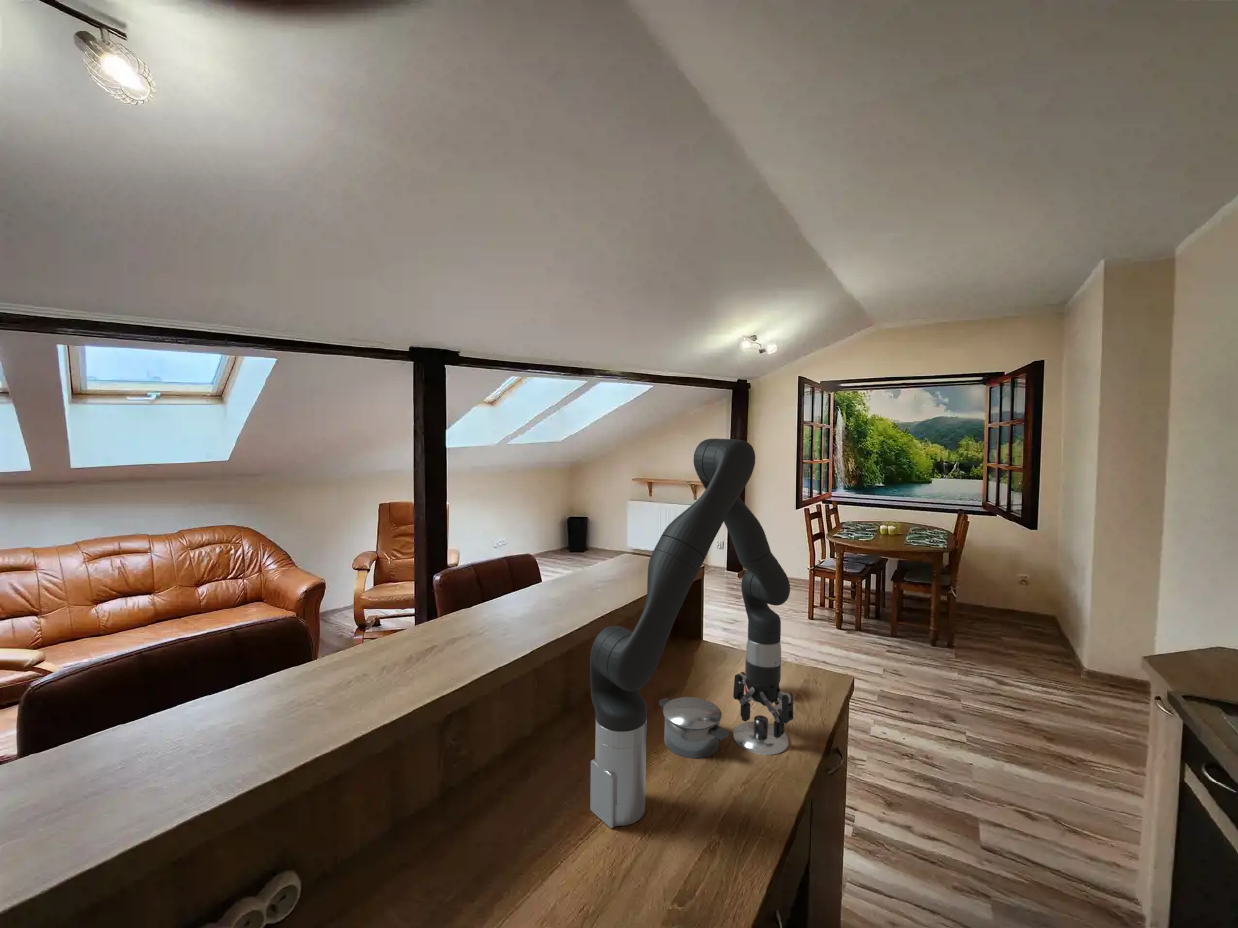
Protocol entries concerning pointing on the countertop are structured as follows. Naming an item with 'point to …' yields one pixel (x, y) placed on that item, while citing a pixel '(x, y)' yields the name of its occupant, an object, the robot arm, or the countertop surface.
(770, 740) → the lid
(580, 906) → the countertop surface
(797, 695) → the countertop surface
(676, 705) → the pot
